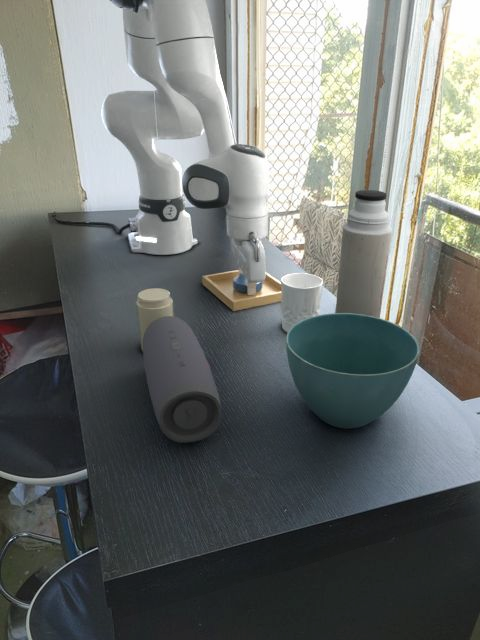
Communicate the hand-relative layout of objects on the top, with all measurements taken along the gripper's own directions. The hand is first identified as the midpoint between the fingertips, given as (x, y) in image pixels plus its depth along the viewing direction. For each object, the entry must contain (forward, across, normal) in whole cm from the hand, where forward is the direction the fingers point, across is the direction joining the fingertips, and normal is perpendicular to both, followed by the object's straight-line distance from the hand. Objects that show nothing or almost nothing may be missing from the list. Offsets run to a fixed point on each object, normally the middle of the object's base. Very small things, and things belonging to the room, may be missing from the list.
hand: (247, 286), depth 118 cm
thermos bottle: (+1, -30, -14) cm, 33 cm away
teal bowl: (+1, -49, -4) cm, 49 cm away
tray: (+1, 0, 0) cm, 1 cm away
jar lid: (-1, 0, 0) cm, 1 cm away
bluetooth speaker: (+1, -41, +19) cm, 45 cm away
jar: (+1, -23, +21) cm, 31 cm away
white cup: (+1, -20, -6) cm, 21 cm away
